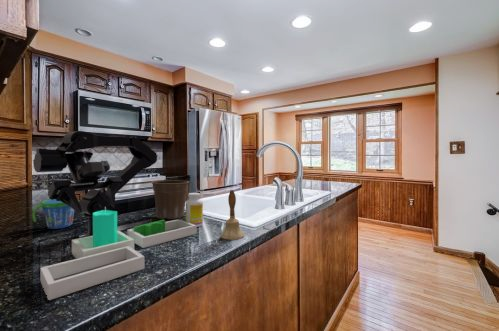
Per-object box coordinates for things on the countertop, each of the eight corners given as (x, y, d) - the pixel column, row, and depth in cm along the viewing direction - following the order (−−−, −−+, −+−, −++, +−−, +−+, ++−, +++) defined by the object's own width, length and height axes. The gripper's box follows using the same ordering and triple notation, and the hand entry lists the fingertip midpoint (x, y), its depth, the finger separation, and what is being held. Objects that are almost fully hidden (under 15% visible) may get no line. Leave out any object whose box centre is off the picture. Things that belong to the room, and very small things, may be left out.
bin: (71, 254, 66) (71, 239, 66) (118, 243, 75) (118, 230, 75) (83, 267, 58) (83, 251, 58) (134, 253, 67) (134, 239, 67)
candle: (90, 249, 67) (90, 206, 67) (114, 244, 71) (113, 204, 71) (95, 255, 63) (95, 210, 63) (120, 249, 67) (120, 207, 67)
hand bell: (234, 241, 78) (235, 192, 77) (215, 236, 82) (215, 190, 82) (248, 234, 85) (249, 190, 84) (230, 230, 89) (230, 188, 89)
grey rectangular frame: (40, 281, 52) (40, 267, 51) (128, 256, 65) (128, 245, 65) (48, 300, 45) (48, 284, 45) (144, 268, 58) (144, 256, 58)
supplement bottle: (206, 225, 97) (206, 193, 96) (194, 228, 91) (194, 195, 91) (194, 222, 100) (194, 191, 100) (182, 226, 95) (182, 193, 94)
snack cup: (34, 234, 83) (34, 205, 82) (31, 228, 90) (30, 201, 90) (87, 225, 94) (87, 199, 94) (80, 220, 101) (80, 196, 101)
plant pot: (174, 211, 121) (174, 179, 121) (196, 215, 112) (196, 181, 111) (144, 217, 108) (144, 181, 107) (166, 223, 99) (166, 184, 98)
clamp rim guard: (127, 238, 79) (127, 229, 79) (178, 227, 93) (178, 219, 93) (143, 248, 71) (143, 238, 71) (196, 233, 85) (196, 225, 85)
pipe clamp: (140, 243, 76) (140, 228, 76) (134, 240, 78) (133, 226, 78) (169, 233, 86) (169, 220, 85) (163, 231, 88) (163, 219, 87)
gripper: (52, 150, 64) (70, 197, 59) (120, 152, 80) (139, 189, 75) (40, 176, 69) (56, 222, 64) (107, 173, 85) (124, 209, 80)
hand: (98, 209), depth 71 cm, fingers open, 9 cm apart
